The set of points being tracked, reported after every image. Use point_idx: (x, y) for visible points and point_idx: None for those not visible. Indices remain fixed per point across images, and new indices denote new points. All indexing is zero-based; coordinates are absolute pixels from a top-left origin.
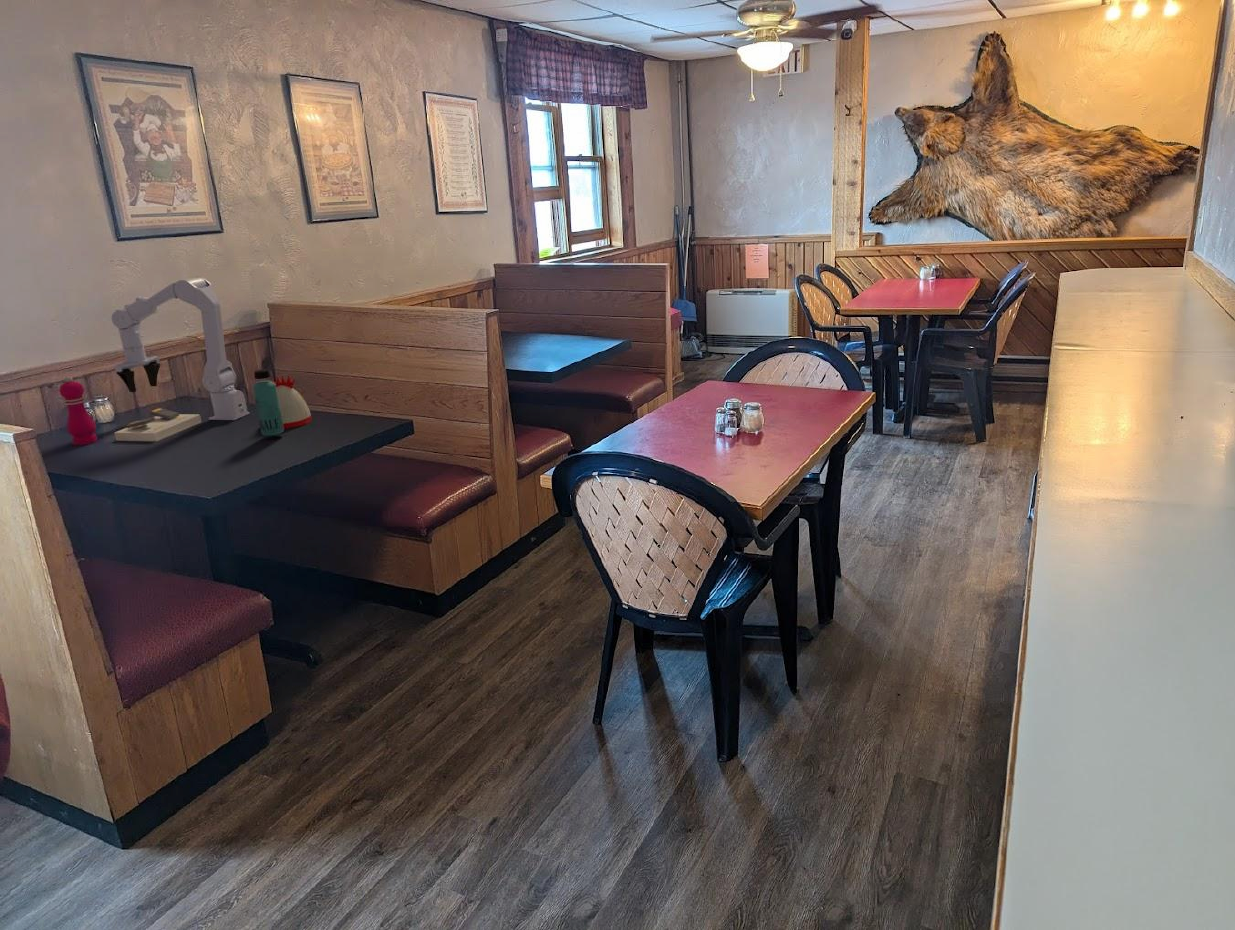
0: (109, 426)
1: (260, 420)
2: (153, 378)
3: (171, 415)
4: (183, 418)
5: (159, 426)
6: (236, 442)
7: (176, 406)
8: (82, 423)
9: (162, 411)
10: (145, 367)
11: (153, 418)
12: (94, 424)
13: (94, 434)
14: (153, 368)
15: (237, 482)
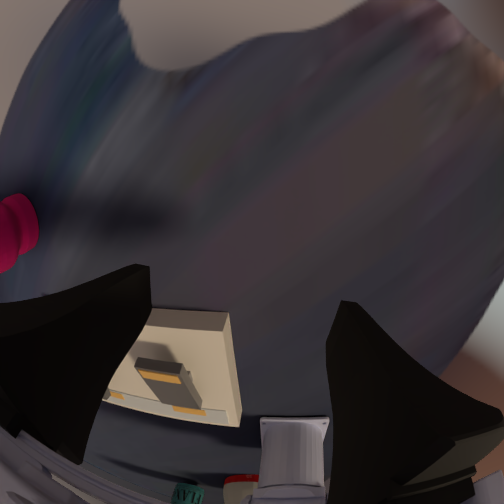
0: (132, 126)
1: (172, 498)
2: (337, 392)
3: (169, 404)
4: (189, 413)
5: (119, 388)
6: (157, 463)
7: (458, 196)
8: None
9: (168, 387)
10: (401, 445)
11: (104, 397)
12: (5, 269)
13: (23, 246)
14: (335, 492)
15: (90, 461)
